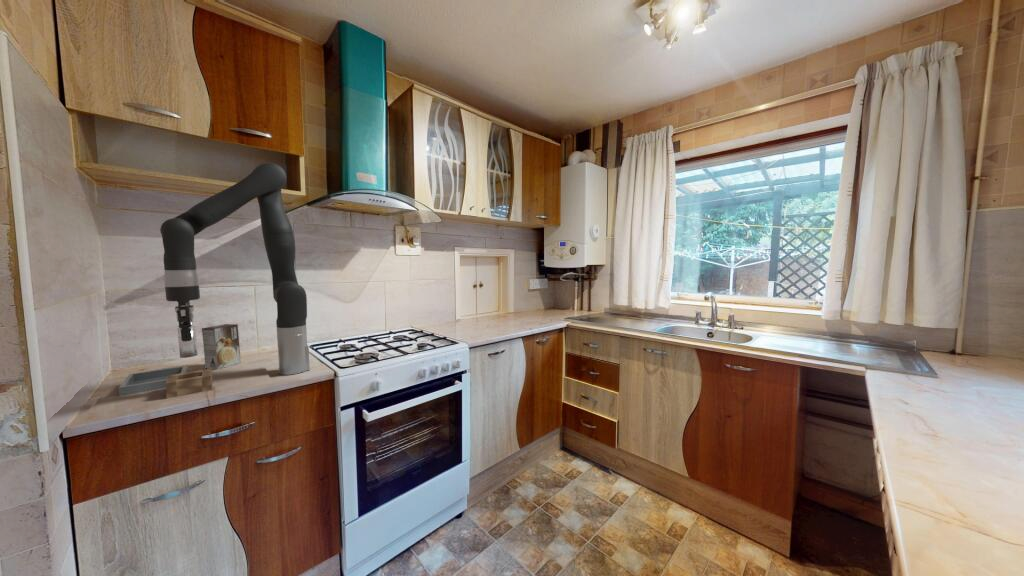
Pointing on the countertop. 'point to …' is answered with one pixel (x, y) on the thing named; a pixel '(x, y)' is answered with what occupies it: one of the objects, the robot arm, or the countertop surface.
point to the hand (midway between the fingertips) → (187, 339)
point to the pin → (187, 345)
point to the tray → (148, 380)
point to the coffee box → (221, 346)
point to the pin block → (189, 383)
